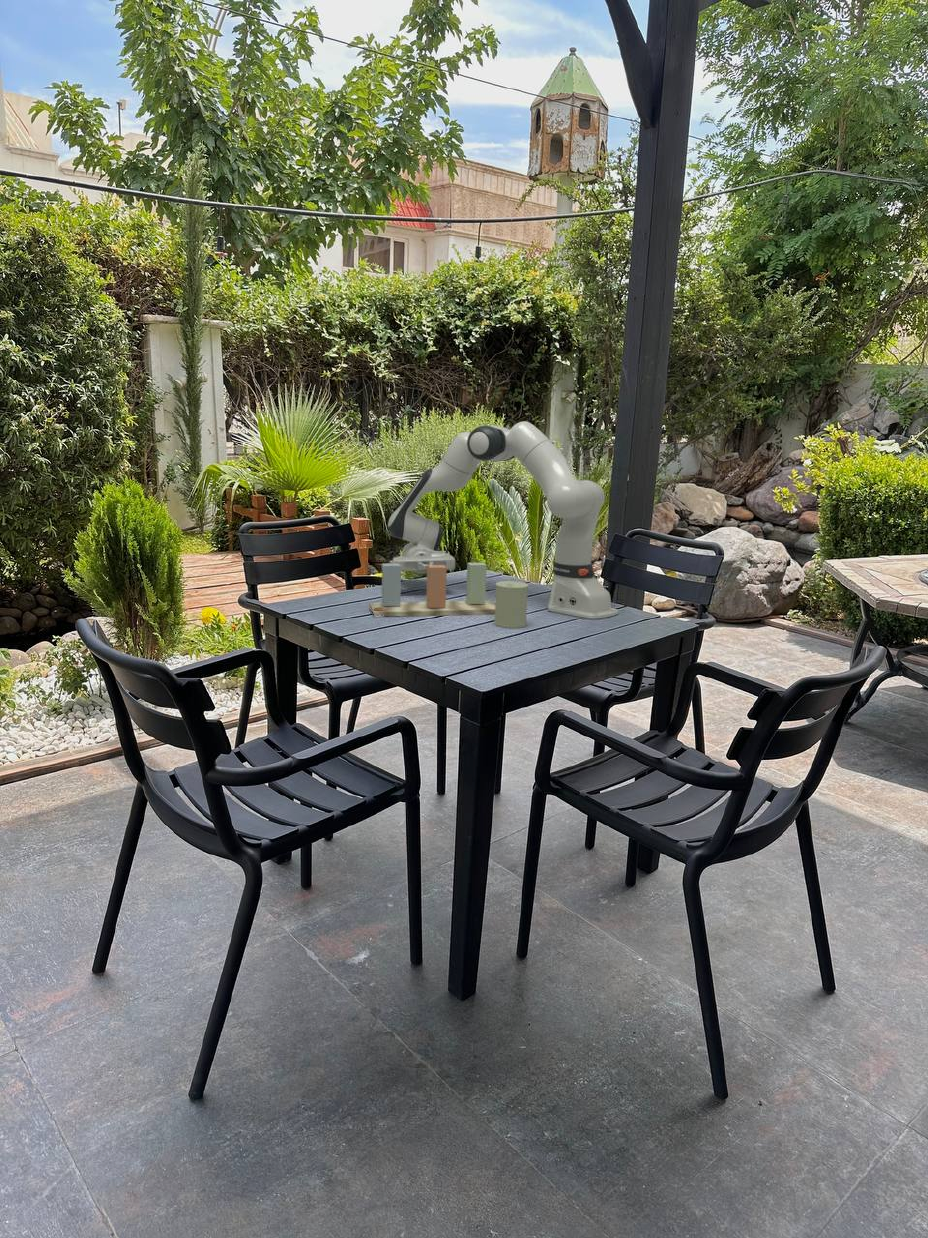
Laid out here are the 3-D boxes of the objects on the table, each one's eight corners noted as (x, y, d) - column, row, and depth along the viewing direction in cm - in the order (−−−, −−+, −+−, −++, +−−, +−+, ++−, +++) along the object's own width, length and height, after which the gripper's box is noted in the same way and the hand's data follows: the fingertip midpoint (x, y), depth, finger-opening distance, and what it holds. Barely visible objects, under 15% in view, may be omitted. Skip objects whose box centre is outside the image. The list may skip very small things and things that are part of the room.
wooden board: (491, 604, 248) (491, 598, 247) (501, 614, 236) (501, 607, 236) (369, 607, 239) (369, 601, 238) (374, 617, 228) (374, 610, 227)
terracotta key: (442, 604, 238) (443, 565, 235) (445, 607, 234) (446, 567, 232) (426, 604, 237) (427, 565, 234) (428, 607, 233) (429, 567, 230)
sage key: (481, 600, 244) (483, 562, 242) (485, 603, 241) (486, 564, 238) (466, 601, 243) (467, 562, 240) (469, 604, 240) (470, 565, 237)
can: (490, 626, 222) (491, 584, 219) (498, 618, 231) (500, 578, 228) (522, 629, 220) (524, 587, 217) (529, 621, 228) (531, 581, 225)
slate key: (398, 602, 239) (398, 563, 236) (400, 605, 235) (400, 565, 232) (381, 603, 237) (382, 563, 234) (383, 606, 234) (383, 566, 231)
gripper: (388, 551, 259) (394, 558, 246) (449, 550, 264) (459, 557, 251) (388, 570, 260) (395, 578, 247) (449, 569, 265) (458, 576, 252)
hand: (427, 567), depth 249 cm, fingers closed
